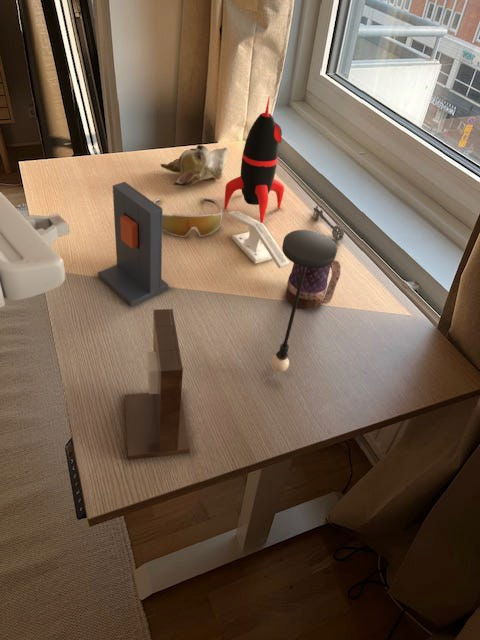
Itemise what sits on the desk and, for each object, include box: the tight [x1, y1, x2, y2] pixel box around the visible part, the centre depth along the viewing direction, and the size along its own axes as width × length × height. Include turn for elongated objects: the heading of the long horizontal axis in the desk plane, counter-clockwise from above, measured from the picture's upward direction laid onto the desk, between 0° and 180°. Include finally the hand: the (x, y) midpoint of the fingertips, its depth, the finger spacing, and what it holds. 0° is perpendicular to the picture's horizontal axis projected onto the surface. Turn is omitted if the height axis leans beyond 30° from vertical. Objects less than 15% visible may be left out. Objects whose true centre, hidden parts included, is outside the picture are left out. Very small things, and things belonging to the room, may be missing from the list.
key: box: [312, 205, 345, 242], centre depth 112 cm, size 12×1×3 cm, turn 24°
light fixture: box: [271, 229, 338, 373], centre depth 72 cm, size 7×7×25 cm
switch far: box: [120, 215, 138, 249], centre depth 85 cm, size 1×3×4 cm, turn 44°
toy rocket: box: [223, 94, 285, 224], centre depth 108 cm, size 10×10×25 cm
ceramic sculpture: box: [160, 144, 229, 188], centre depth 120 cm, size 11×9×15 cm
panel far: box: [97, 181, 169, 307], centre depth 87 cm, size 8×10×17 cm
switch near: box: [146, 350, 158, 394], centre depth 64 cm, size 1×3×4 cm, turn 12°
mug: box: [285, 259, 342, 310], centre depth 90 cm, size 10×7×12 cm
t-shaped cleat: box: [227, 210, 290, 269], centre depth 103 cm, size 4×20×5 cm, turn 30°
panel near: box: [124, 308, 191, 461], centre depth 66 cm, size 8×10×17 cm
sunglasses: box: [153, 198, 223, 238], centre depth 109 cm, size 14×15×5 cm
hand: (64, 223), depth 71 cm, fingers closed
